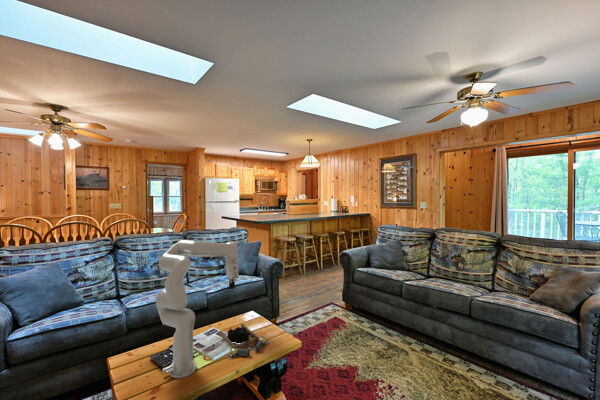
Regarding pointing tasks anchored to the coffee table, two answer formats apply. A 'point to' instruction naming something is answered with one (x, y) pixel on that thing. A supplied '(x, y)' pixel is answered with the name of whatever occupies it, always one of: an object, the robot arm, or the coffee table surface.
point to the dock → (243, 344)
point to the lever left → (239, 352)
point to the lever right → (260, 343)
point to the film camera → (238, 335)
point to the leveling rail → (247, 348)
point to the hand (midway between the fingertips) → (231, 288)
